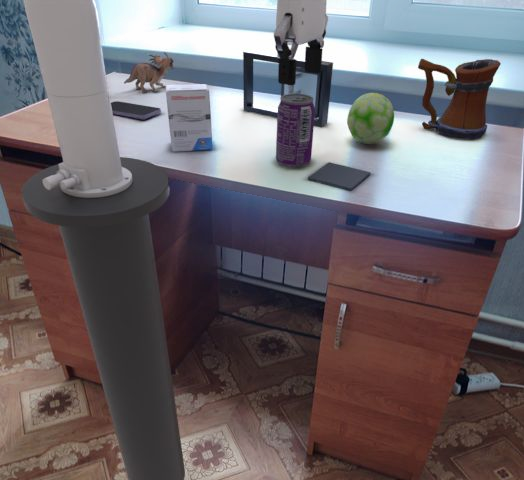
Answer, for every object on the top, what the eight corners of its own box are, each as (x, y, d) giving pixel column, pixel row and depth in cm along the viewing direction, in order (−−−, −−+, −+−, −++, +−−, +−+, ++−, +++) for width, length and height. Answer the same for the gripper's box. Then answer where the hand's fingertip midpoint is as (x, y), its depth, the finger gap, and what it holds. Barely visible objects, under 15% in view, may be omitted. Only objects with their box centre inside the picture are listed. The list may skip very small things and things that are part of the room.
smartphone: (116, 100, 129) (162, 108, 123) (116, 105, 129) (163, 113, 124) (95, 107, 124) (143, 116, 118) (96, 112, 124) (143, 121, 119)
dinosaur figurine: (175, 86, 142) (172, 49, 136) (176, 92, 138) (173, 53, 132) (125, 88, 140) (120, 49, 134) (125, 93, 136) (119, 54, 130)
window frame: (321, 127, 118) (327, 65, 110) (243, 110, 127) (243, 51, 118) (327, 123, 120) (333, 62, 112) (249, 107, 129) (250, 49, 120)
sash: (306, 124, 115) (309, 76, 108) (269, 116, 119) (270, 69, 112) (318, 117, 119) (322, 71, 112) (281, 109, 122) (283, 64, 116)
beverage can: (313, 157, 104) (318, 94, 96) (307, 170, 99) (312, 105, 91) (279, 154, 105) (282, 91, 97) (272, 166, 100) (274, 101, 92)
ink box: (210, 142, 110) (207, 82, 102) (212, 150, 106) (209, 89, 98) (170, 143, 108) (164, 83, 100) (171, 152, 105) (165, 90, 97)
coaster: (351, 191, 92) (351, 188, 92) (307, 179, 95) (307, 177, 95) (370, 174, 98) (370, 172, 97) (328, 164, 101) (328, 162, 101)
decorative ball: (340, 135, 114) (345, 87, 108) (382, 134, 115) (391, 87, 108) (350, 151, 107) (356, 100, 100) (395, 150, 108) (405, 100, 101)
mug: (405, 135, 115) (420, 61, 105) (406, 119, 123) (419, 50, 114) (487, 143, 112) (510, 67, 102) (482, 126, 121) (503, 55, 111)
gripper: (310, -46, 87) (304, 65, 99) (256, -38, 76) (257, 85, 88) (349, -44, 84) (339, 70, 96) (300, -35, 73) (294, 92, 85)
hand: (300, 77), depth 92 cm, fingers open, 9 cm apart
